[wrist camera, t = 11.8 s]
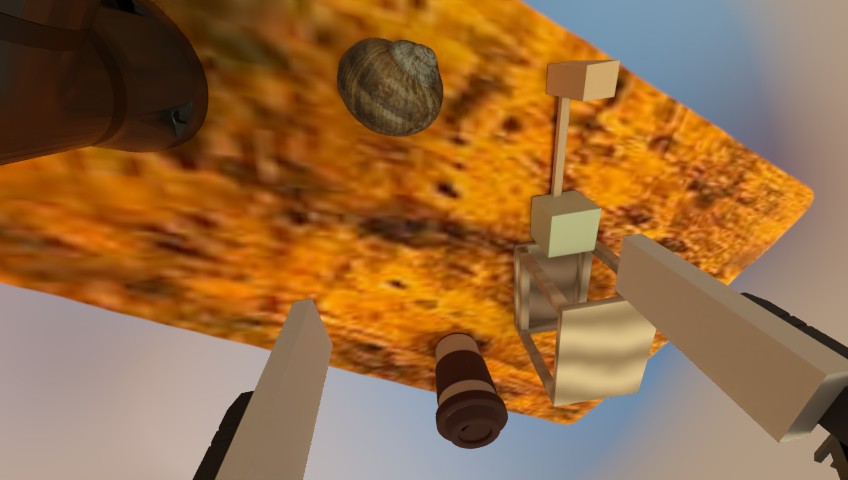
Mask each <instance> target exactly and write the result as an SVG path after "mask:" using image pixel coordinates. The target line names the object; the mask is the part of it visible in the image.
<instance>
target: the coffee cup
mask: <svg viewBox="0 0 848 480" xmlns="http://www.w3.org/2000/svg"><path fill="white" fill-rule="evenodd" d="M436 388H437V403H438V406H439V407H438V409H437V412H436V424H437V430H438V432H439V433H440V434H441V435H442V437H444V438H445V439H447V440H449V441H452V443H453V444H455V445H456V446H458V447H461V448H467V449H474V448H480V447H483V446H486V445H488V444H490V443H491V442H493V441H494V440H495V439H496V438H497V437H498V435H499V433H500V431H501V430H502V429H503V428H504V426H505V425H506V422H507V420H508V414H507V410H506V407H505V404H504V402H503V400H502V399H501V398H500V397H499V396H498V395H497V392H496V388H495V386H494V383H493V381H492V379H491V376H490V374H489V371H488V369H487V366H486V364H485V361H484V359H483V358H482V357H481V355H480V352H479V350H478V347H477V345H476V343H475V341H474V340H473V339H472V338H471V337H469V336H468V335H465V334H452V335H449V336H447V337H445V338H443V339H442V340H441V341H440V342H439V343H438V345H437V347H436Z"/></svg>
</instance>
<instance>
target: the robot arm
mask: <svg viewBox="0 0 848 480" xmlns="http://www.w3.org/2000/svg"><path fill="white" fill-rule="evenodd" d="M207 104H208V92H207V84H206V79H205V76H204V72H203V69H202V67H201V64H200V62H199V59H198V57H197V55H196V53H195V51H194V50H193V48H192V46H191V45H190V43H189V42H188V40H187V39H186V37H185V36H184V35H183V33H182V32H181V31H180V29H179V28H178V27H177V26H176V25H175V24H174V23H173V22H172V21H171V19H169V18H168V17H167V16H166V15H165V14H164V13H163V12H162V11H161V10H160V9H158V8H157V7H156V6H154V5H153V4H152V3H150V2H149V1H147V0H0V165H4V164H9V163H14V162H18V161H23V160H28V159H32V158H37V157H41V156H46V155H51V154H55V153H60V152H65V151H69V150H74V149H79V148H83V147H88V146H94V147H101V148H108V149H115V150H122V151H129V152H155V151H160V150H164V149H168V148H171V147H175V146H178V145H180V144H182V143H184V142H186V141H187V140H189V139H190V138H191V137H192V136H193V135H195V133H196V132H197V131H198V130H199V128H200V127H201V125H202V123H203V121H204V118H205V115H206V111H207ZM615 290H616V291H617V292H618V293H619V294H620V295H621V296H622V297H623V298H624V299H625V300H627V301H628V302H629V303H630V304H631V305H632V306H633V307H634V308H635V309H636V310H637V311H638V312H639V313H640V314H642V315H643V316H644V317H645V318H646V319H647V320H648V321H649V322H650V323H651V324H652V325H653V326H654V327H655V328H656V329H658V330H659V331H660V332H661V333H662V334H663V335H664V336H665V337H666V338H667V339H668V340H669V341H670V342H671V343H673V344H674V345H675V346H676V347H677V348H678V349H679V350H680V351H681V352H682V353H683V354H684V355H685V356H686V357H687V358H689V359H690V360H691V361H692V362H693V363H694V364H695V365H696V366H697V367H698V368H699V369H700V370H701V371H702V372H703V373H705V374H706V375H707V376H708V377H709V378H710V379H711V380H712V381H713V382H714V383H715V384H716V385H717V386H718V387H720V388H721V389H722V390H723V391H724V392H725V393H726V394H727V395H728V396H729V397H730V398H731V399H732V400H733V401H734V402H736V403H737V404H738V405H739V406H740V407H741V408H742V409H743V410H744V411H745V412H746V413H747V414H748V415H749V416H751V417H752V418H753V419H754V420H755V421H756V422H757V423H758V424H759V425H760V426H761V427H762V428H763V429H764V430H765V431H766V432H768V433H769V434H770V435H771V436H772V437H773V438H774V439H775V440H776V441H777V442H778V443H781V442H786V441H791V440H795V439H800V438H806V437H808V435H809V434H810V433H811V431H812V430H813V429H814V428H815V426H816V425H817V424H820V425H821V426H822V427H823V428H824V429H826V430H827V431H828V432H829V433H831V434H830V435H829V436H828V437H827V439H826V440H825V441H824V442H823V443H822V445H821V446H820V447H819V448H818V450H817V451H816V452H815V453H814V461H817V462H820V463H821V462H822V461H823V460H824V459H825V458H826V457H827V456H828V455H829V453H831V455H832V458H833V462H832V464H831V467H833V468H835V469H837V472H838V475H839V477H840V480H848V347H846V346H844V345H842V344H841V343H839V342H837V341H836V340H834V339H832V338H830V337H829V336H827V335H825V334H824V333H822V332H820V331H819V330H817V329H815V328H814V327H812V326H807V324H806V323H805V322H803V321H801V320H800V319H798V318H796V317H795V316H790V315H789V313H788V312H786V311H784V310H783V309H781V308H779V307H777V306H776V305H774V304H772V303H771V302H769V301H767V300H764V299H761V298H758V297H756V296H753V295H751V294H748V293H738V292H737V291H735V290H733V289H731V288H730V287H728V286H727V285H725V284H723V283H722V282H720V281H719V280H717V279H715V278H714V277H712V276H710V275H709V274H707V273H705V272H704V271H702V270H701V269H699V268H697V267H696V266H694V265H692V264H691V263H689V262H687V261H686V260H684V259H683V258H681V257H679V256H678V255H676V254H674V253H673V252H671V251H669V250H668V249H666V248H665V247H663V246H661V245H660V244H658V243H656V242H655V241H653V240H651V239H650V238H648V237H647V236H645V235H643V234H642V233H641V234H636V235H631V236H626V237H623V242H622V248H621V254H620V260H619V267H618V273H617V279H616V285H615ZM332 347H333V345H332V342H331V340H330V338H329V336H328V333H327V331H326V329H325V327H324V325H323V322H322V320H321V318H320V316H319V313H318V311H317V309H316V307H315V304H314V302H313V300H312V299H307V300H302V301H297V302H294V303H293V305H292V307H291V309H290V312H289V314H288V316H287V318H286V321H285V323H284V325H283V327H282V330H281V332H280V334H279V336H278V339H277V341H276V343H275V345H274V348H273V350H272V352H271V354H270V357H269V359H268V361H267V364H266V366H265V368H264V370H263V373H262V375H261V377H260V379H259V382H258V384H257V386H256V388H255V391H250V392H245V393H241V394H240V395H239V397H238V398H237V399H236V400H235V401H234V403H233V404H232V405H231V406H230V407H229V409H228V410H227V412H226V414H225V416H224V418H223V420H222V422H221V424H220V426H219V430H218V431H217V432H216V434H215V436H214V438H213V440H212V442H211V446H209V448H208V450H207V452H206V454H205V456H204V458H203V460H202V462H201V464H200V466H199V468H198V470H197V472H196V474H195V476H194V478H193V480H303V476H304V472H305V467H306V463H307V459H308V454H309V449H310V445H311V441H312V436H313V432H314V427H315V422H316V418H317V414H318V409H319V405H320V400H321V396H322V391H323V387H324V382H325V378H326V373H327V369H328V364H329V360H330V356H331V351H332Z"/></svg>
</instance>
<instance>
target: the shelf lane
mask: <svg viewBox="0 0 848 480" xmlns="http://www.w3.org/2000/svg"><path fill="white" fill-rule="evenodd" d="M593 254H594V255H595V256H596V257H598V258H599V259H600V260H601V261H602V262H603V263H605V264H606V265H607V266H608V267H609V268H610V269H612V270H613V271H614V272H615V273H616V274H617V273H618V267H619V260H620V258H619V257H618V256H617V255H615V254H614V253H613V252H612V251H610V250H609V249H608V248H606V247H605V246H604V245H603V244H601V243H600V242H599V241H597V240H596V242H595V248H594V250H592V251H586V252H580V253H574V254H568V255H562V256H556V257H550V258H548V257H547V255H546V254H545V253H544V252H543V250H542V249H541V248H540V247H539V245H538V244H537V243H536V242H535V241H533V242H527V243H521V244H515V245H514V326H515V328H516V330H517V332H518V334H519V336H520V338H521V340H522V342H523V344H524V346H525V348H526V350H527V352H528V354H529V357H530V359H531V361H532V363H533V365H534V367H535V369H536V371H537V373H538V375H539V377H540V379H541V381H542V383H543V385H544V387H545V389H546V391H547V393H548V395H549V397H550V399H551V401H552V403H553V406H560V405H566V404H572V403H578V402H584V401H589V400H595V399H601V398H607V397H613V396H619V395H625V394H631V393H637V392H638V390H639V387H640V383H641V380H642V377H643V373H644V369H645V366H646V363H647V359H648V356H649V352H650V349H651V346H652V342H653V339H654V335H655V332H656V328H655V327H654V326H653V325H652V324H651V323H650V322H649V321H648V320H647V319H646V318H645V317H644V316H643V315H642V314H640V313H639V312H638V311H637V310H636V309H635V308H634V307H633V306H632V305H631V304H630V303H629V302H628V301H627V300H625V299H624V298H623V297H622V296H618V297H612V298H606V299H600V300H594V301H588V302H587V295H588V287H589V280H590V273H591V266H592V258H593ZM552 330H557V338H556V350H555V361H554V373H553V378H552V376H551V374H550V372H549V370H548V368H547V367H546V365H545V363H544V361H543V359H542V357H541V355H540V353H539V352H538V350H537V348H536V346H535V344H534V342H533V340H532V338H531V337H530V335H529V334H534V333H540V332H546V331H552Z"/></svg>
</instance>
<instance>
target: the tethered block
mask: <svg viewBox="0 0 848 480" xmlns="http://www.w3.org/2000/svg"><path fill="white" fill-rule="evenodd" d="M619 64H620V60H586V61H569V62H563V63H557V64H551V65H548V73H547V89H546V94H548V95H553V96H558V97H559V104H558V116H557V127H556V139H555V151H554V163H553V175H552V187H551V194H549V195H543V196H537V197H532V209H531V229H530V235H531V237H532V238H533V239H534V240H535V242H536V243H537V244H538V245H539V247H540V248H541V249H542V250H543V252H544V253H545V254H546V255H547V257H548V258H550V257H556V256H562V255H568V254H574V253H580V252H586V251H592V250H594V248H595V242H596V237H597V231H598V226H599V220H600V215H601V209H602V208H601V207H599V206H598V205H596V204H595V203H593V202H592V201H590V200H589V199H588V198H586V197H585V196H583V195H582V194H580V193H579V192H577V191H576V190H573V191H567V192H561V190H562V180H563V171H564V161H565V151H566V142H567V132H568V122H569V112H570V103H571V99H573V100H578V101H589V100H595V99H601V98H607V97H614V94H615V88H616V82H617V76H618V70H619Z"/></svg>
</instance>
